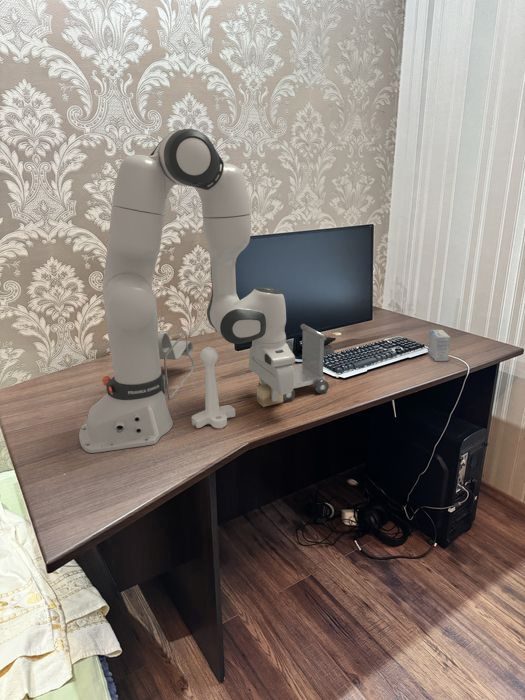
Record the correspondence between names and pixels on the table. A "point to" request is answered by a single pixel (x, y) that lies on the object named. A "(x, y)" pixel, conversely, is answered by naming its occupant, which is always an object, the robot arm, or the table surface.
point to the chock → (266, 395)
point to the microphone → (328, 340)
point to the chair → (174, 353)
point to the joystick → (212, 395)
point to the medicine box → (439, 345)
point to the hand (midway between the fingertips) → (269, 396)
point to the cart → (310, 363)
